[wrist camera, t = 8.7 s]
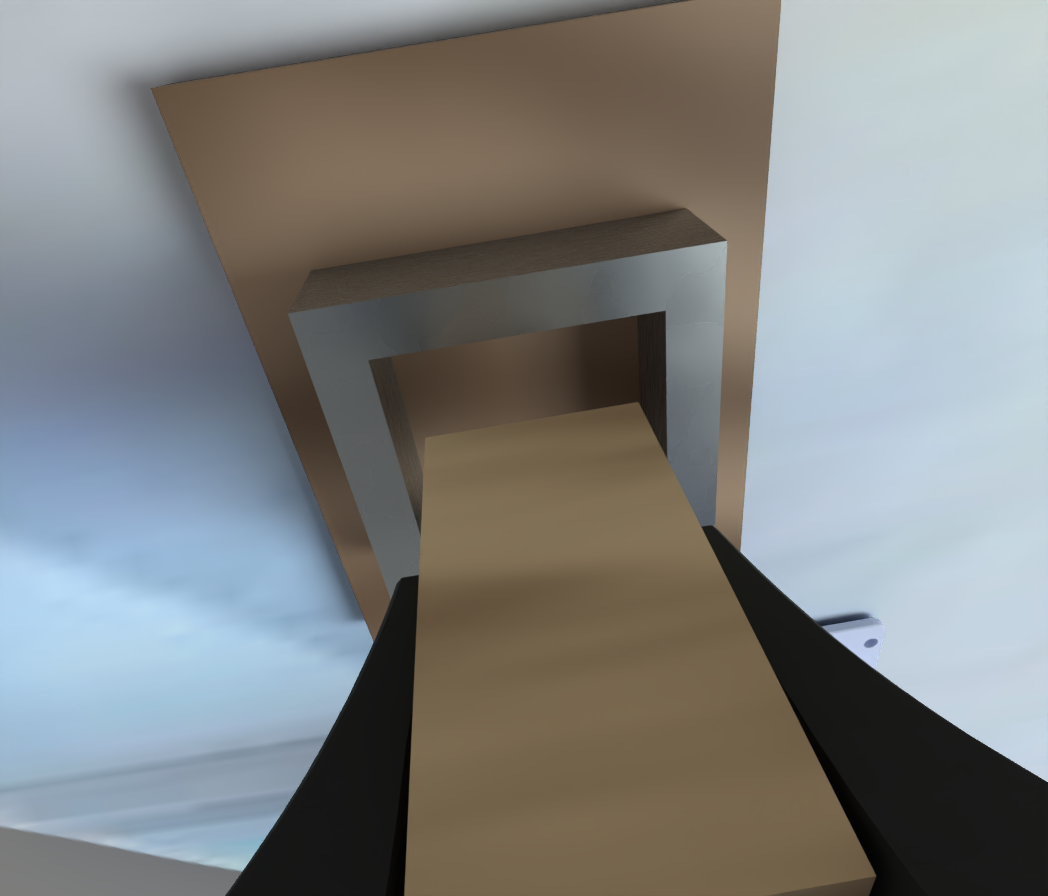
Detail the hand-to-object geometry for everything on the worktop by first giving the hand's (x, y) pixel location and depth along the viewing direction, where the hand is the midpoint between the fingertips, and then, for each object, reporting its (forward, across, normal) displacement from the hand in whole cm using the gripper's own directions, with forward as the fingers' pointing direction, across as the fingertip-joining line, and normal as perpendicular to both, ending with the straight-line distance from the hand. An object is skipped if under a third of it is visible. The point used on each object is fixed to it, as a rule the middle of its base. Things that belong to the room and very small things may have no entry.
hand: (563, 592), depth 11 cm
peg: (+2, 0, 0) cm, 2 cm away
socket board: (+8, 0, 0) cm, 8 cm away
